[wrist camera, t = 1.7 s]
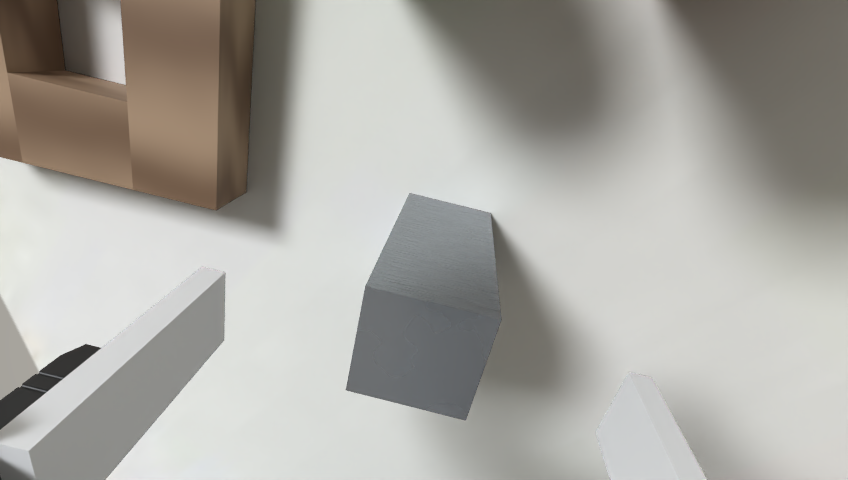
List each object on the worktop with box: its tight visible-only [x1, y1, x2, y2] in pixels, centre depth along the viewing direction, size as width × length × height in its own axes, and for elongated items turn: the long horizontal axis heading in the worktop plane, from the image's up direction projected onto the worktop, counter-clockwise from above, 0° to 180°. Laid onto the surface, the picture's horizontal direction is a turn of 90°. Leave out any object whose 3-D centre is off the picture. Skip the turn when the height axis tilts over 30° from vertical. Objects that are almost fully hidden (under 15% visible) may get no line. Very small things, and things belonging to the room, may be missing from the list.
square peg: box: [346, 193, 501, 420], centre depth 19 cm, size 4×4×10 cm
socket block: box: [0, 0, 256, 210], centre depth 19 cm, size 14×14×3 cm
